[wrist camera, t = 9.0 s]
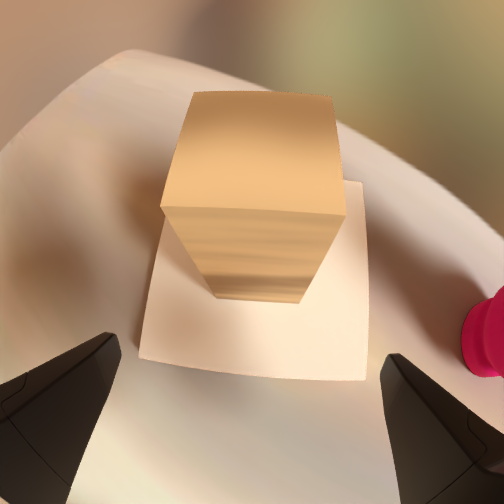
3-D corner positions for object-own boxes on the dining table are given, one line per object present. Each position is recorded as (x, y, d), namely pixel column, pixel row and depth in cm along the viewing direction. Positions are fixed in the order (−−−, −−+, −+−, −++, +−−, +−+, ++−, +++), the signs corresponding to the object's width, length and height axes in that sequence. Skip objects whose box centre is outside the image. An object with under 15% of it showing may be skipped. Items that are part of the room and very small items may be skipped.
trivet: (358, 379, 17) (365, 380, 16) (146, 358, 18) (138, 357, 17) (356, 193, 22) (361, 182, 21) (182, 180, 23) (178, 169, 22)
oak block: (299, 303, 18) (346, 215, 7) (216, 298, 18) (159, 206, 8) (300, 229, 20) (331, 96, 9) (225, 225, 20) (194, 92, 10)
